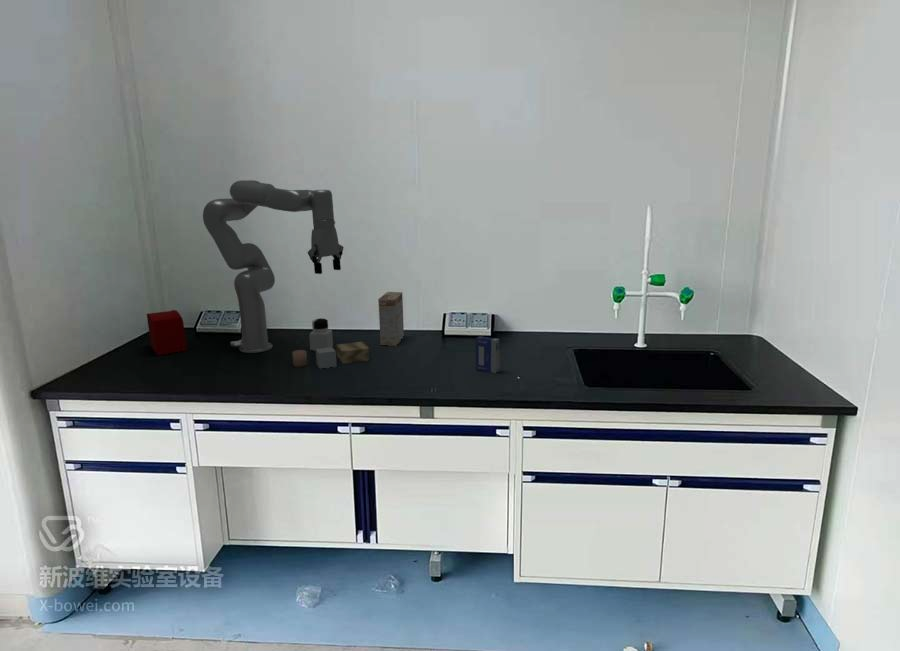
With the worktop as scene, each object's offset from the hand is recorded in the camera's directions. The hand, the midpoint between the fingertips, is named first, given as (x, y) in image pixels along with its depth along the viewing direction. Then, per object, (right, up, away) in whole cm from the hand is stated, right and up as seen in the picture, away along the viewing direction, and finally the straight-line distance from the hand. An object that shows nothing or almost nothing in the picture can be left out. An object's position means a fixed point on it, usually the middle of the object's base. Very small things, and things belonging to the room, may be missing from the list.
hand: (328, 271), depth 212 cm
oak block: (+9, -33, +4) cm, 34 cm away
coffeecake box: (+21, -27, +27) cm, 44 cm away
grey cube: (0, -35, -4) cm, 35 cm away
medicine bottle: (-6, -29, +18) cm, 35 cm away
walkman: (+58, -36, -11) cm, 69 cm away
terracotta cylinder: (-9, -34, -3) cm, 36 cm away
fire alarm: (-68, -30, +19) cm, 77 cm away
